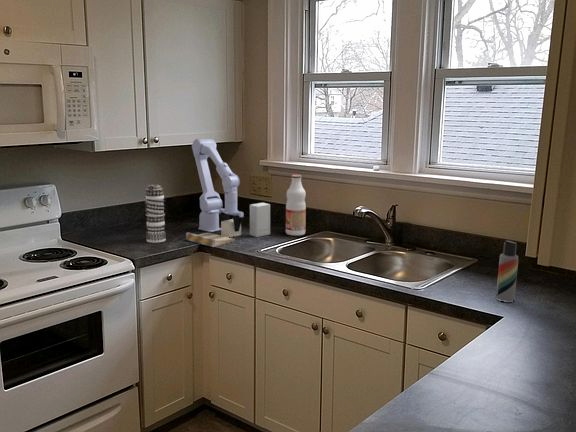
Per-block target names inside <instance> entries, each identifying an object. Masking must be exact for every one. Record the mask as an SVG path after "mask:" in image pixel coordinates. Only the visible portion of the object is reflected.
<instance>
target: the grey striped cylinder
mask: <svg viewBox="0 0 576 432" xmlns="http://www.w3.org/2000/svg"><path fill="white" fill-rule="evenodd" d="M144 189H145V201H144V208H145V210H144V211H145V213H144V214H145V216H146V225H145V228H146V229H145V231H146V233H145V234H146V236H145V238H146V242H147V243H153V244H154V243H155V244H156V243H162V242H163V243H164V242H165V241H166V240H167V239H166V237H167V236H166V234H167V233H166V229H167V228H166V226H167V225H166V223H165V215H166V212H164V211H165V210H166V208H165V207H166V204H164V203H165V202H166V197H165V195H164V187H163V186H162V185H161V184H156V183H155V184H154V183H153V184H148V185H147V186H146V188H144Z"/></svg>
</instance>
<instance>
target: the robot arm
mask: <svg viewBox="0 0 576 432" xmlns="http://www.w3.org/2000/svg"><path fill="white" fill-rule="evenodd" d="M191 150H192V153H193V157H194V159H195V165H196V167H197V168H196V170H197V171H198V172H197V173H198V176H199V181H200V184H201V188H202V194H201V195H200V197H199V208H200V210H201V212H200V213H199V215H198V216H199V217H198V218H199V220H198V221H199V225H198V226H199V227H198V228H197V229H198V230H201V231H203V232H204V231H205V232H207V233H208V232H209V233H212V232H218V231H221V227H220V221H226V220H230V216H232V217H231V218H232V219H233V221H234V229H235V232H237V231H239V229H240V225H241V226H242V222H243V220H244V218H245V216H244V215H245V214H244V212H243V211H239V210H238V187H239V186H240V184H241V181H240V180H241V179H240V176H238V174H235V173H234V172H233V171H232V170H231V168H230V167H229V164H228V163H227V162H224V161H223V160H222V158H221V156H220V154H219V152H218V150H217V143H216V142H215V140H214V138H212V137H211V138H210V137H209V138H195V139H193V141H192V144H191ZM208 158H210V159H211V160H212V162H213V164H214V165H215V166H216V167H215V170H216V172H217V173H218V176H220V178H221V180H222V181H221V184H222V187H223V192H224V208H223V200H222V199H221V196H220V194H219V193H218V192H217V191H215V189H214V185H213V181H212V177H211V176H212V175H211V171H210V167H209V162H208Z"/></svg>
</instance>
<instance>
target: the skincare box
mask: <svg viewBox="0 0 576 432" xmlns="http://www.w3.org/2000/svg"><path fill="white" fill-rule="evenodd" d="M269 235H271V204H270V203H266V202H258V203H252V204H249V236H253V237H255V238H258V237H260V238H261V237H263V236H269Z"/></svg>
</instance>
